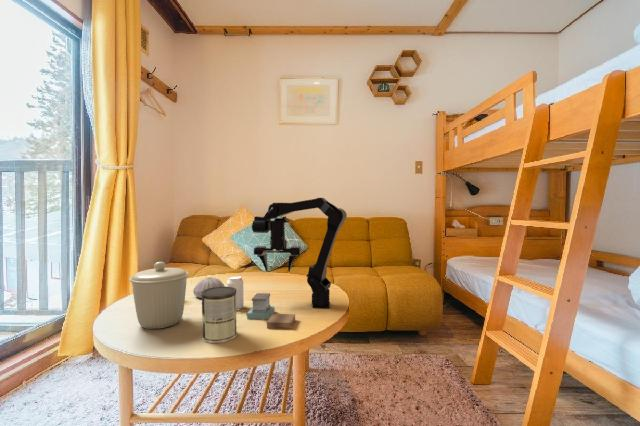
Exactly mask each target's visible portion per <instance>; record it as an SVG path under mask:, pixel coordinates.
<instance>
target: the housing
mask: <svg viewBox="0 0 640 426" xmlns="http://www.w3.org/2000/svg"><path fill="white" fill-rule="evenodd" d="M270 297H271V292H270V293H268V292H267V293H266V292H262V293H261V292H260V293H259V292H258V293H257V292H256V294H255V295H254V296H253V297H252V298H251V301H252V307H253V310H252V313H266V312H267V311H268V309H269V308H270V306H271V304H270Z"/></svg>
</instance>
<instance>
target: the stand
mask: <svg viewBox="0 0 640 426" xmlns="http://www.w3.org/2000/svg"><path fill="white" fill-rule="evenodd" d="M252 310H253V306H252V307H251V308H250V309H249V311H247V313H246V317H247V320H269V318H270V317H271V315H272V314H275V312H276V311H275V306H274V305H270V308H269V309H268V311H267V312H266V313H252Z"/></svg>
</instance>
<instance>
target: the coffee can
mask: <svg viewBox="0 0 640 426" xmlns="http://www.w3.org/2000/svg"><path fill="white" fill-rule="evenodd" d="M201 296H202V298H201V321H202V322H201V323H202V324H201V326H202V327H201V328H202V330H201V331H202V337H201V338H202V340H203V342H206V343H208V344H221V343H225V342H229V341H231V340H233V339H235V338H236V337H237V335H238V332H237V331H238V330H237V329H238V327H237V321H238V320H237V310H236V289H235V288H233V287H227V286H225V287H213V288H209V289H206V290H204V291H202V292H201Z"/></svg>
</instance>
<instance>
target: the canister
mask: <svg viewBox="0 0 640 426" xmlns="http://www.w3.org/2000/svg"><path fill="white" fill-rule="evenodd" d="M189 274H190V272H188V271H187V270H184V268H180V267H166V263H165V262H164V261H157V262H155V263H153V268H150V269H144V270H141V271H138V272H136V273H134V274H133V275H132V276H130V277H129V278H128V281H130V282H131V287H132V295H133V301H134V307H135V312H136V318H137V322H138V324H139V325H140V327H142V328H144V329H147V330H148V329H149V330H150V329H151V330H152V329H153V330H154V329H156V330H157V329H164V328H168V327H172V326H174V325H176V324H177V323H179V322H180V321H181V320H182V318H183V315H184V309H185V300H186V292H187V291H186V290H187V279H188V278H187V277H189Z"/></svg>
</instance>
